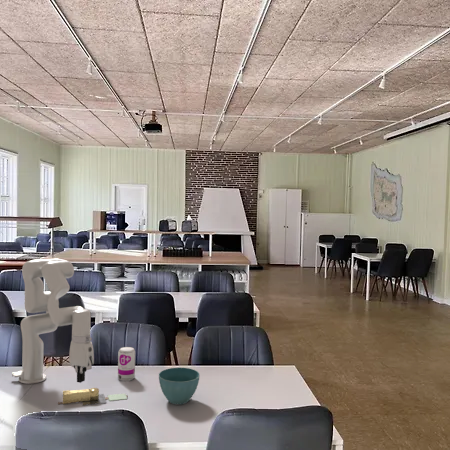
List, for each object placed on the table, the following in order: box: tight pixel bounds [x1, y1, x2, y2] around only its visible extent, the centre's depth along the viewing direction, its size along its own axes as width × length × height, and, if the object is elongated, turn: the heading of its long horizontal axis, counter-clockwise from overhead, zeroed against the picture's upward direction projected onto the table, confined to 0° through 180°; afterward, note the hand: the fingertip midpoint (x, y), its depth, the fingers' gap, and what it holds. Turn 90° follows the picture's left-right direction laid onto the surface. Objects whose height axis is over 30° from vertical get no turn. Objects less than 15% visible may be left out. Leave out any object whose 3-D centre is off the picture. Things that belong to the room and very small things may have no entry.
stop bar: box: [62, 387, 100, 405], centre depth 217 cm, size 15×4×4 cm, turn 110°
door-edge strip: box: [57, 394, 128, 405], centre depth 219 cm, size 30×2×1 cm, turn 110°
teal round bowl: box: [158, 367, 200, 405], centre depth 221 cm, size 18×18×12 cm
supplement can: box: [117, 346, 136, 382], centre depth 247 cm, size 8×8×15 cm
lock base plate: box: [81, 393, 107, 406], centre depth 219 cm, size 10×10×1 cm
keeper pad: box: [107, 393, 128, 402], centre depth 223 cm, size 8×6×1 cm
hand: (80, 381), depth 210 cm, fingers closed
